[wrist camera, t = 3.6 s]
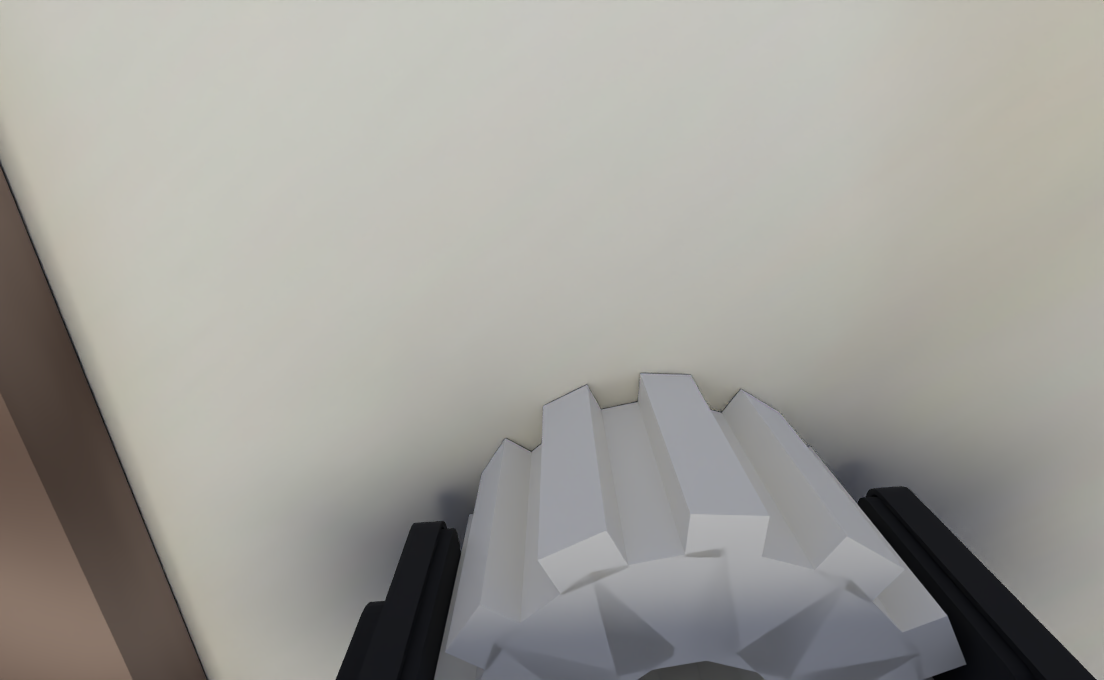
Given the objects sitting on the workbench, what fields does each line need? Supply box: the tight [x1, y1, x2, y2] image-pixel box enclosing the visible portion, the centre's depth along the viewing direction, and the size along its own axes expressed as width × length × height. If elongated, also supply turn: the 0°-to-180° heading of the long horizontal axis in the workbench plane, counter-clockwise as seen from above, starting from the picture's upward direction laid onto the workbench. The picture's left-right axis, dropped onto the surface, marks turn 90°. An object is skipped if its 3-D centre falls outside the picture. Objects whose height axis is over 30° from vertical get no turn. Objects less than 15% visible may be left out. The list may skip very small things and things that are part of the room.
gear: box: [434, 373, 966, 680], centre depth 10 cm, size 7×7×4 cm
